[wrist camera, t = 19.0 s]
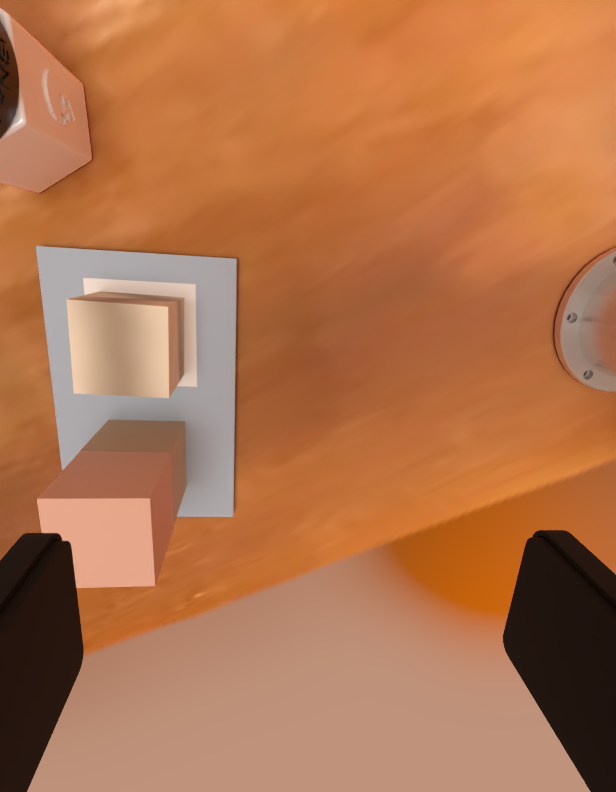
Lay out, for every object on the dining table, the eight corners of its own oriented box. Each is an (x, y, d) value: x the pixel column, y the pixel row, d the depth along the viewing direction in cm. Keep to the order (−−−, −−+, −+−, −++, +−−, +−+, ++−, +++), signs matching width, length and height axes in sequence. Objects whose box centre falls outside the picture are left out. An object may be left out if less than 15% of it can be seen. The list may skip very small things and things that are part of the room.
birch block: (184, 297, 33) (168, 306, 28) (184, 374, 35) (169, 398, 29) (100, 291, 33) (66, 299, 27) (104, 370, 34) (73, 393, 29)
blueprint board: (237, 258, 34) (231, 260, 27) (233, 510, 40) (228, 561, 34) (42, 246, 32) (-15, 244, 26) (72, 510, 39) (33, 563, 32)
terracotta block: (170, 452, 31) (150, 498, 25) (174, 527, 32) (155, 585, 27) (79, 452, 30) (36, 498, 24) (88, 528, 32) (50, 588, 26)
